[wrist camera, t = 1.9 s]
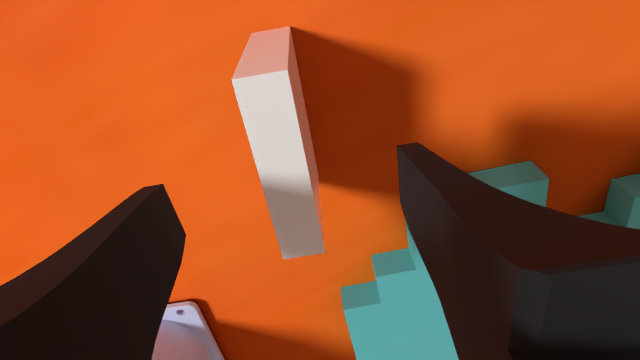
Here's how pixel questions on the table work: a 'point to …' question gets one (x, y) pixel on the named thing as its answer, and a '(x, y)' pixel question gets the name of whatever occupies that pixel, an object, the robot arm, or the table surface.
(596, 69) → the table surface
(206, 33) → the table surface
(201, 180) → the table surface
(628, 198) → the alien figure
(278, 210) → the tile
